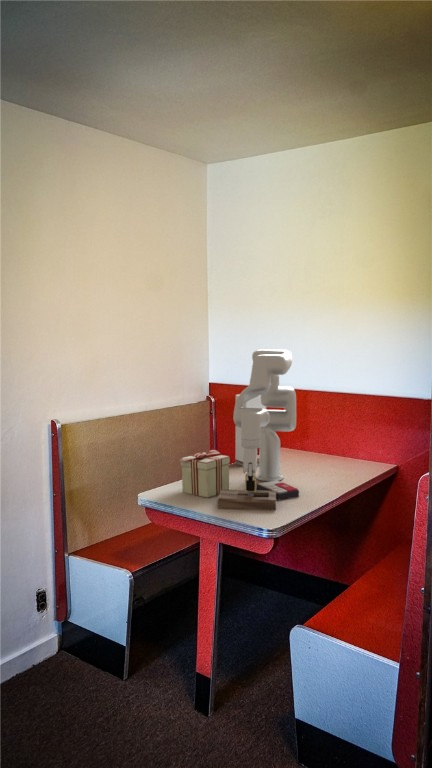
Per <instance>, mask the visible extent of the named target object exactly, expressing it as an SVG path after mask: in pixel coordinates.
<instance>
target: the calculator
mask: <svg viewBox="0 0 432 768" xmlns="http://www.w3.org/2000/svg"><path fill="white" fill-rule="evenodd" d="M256 490H262V491H276V501H281V500H287V499H293V498H296V497H299V496H300V490H298V488H296V487H294V486H292V485H289V484H287V483H285V482H282V481H281V480H279V481H277V480H276V481H263V482H259V483H256Z"/></svg>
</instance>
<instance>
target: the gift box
mask: <svg viewBox="0 0 432 768" xmlns="http://www.w3.org/2000/svg"><path fill="white" fill-rule="evenodd" d="M177 460H178V461H180V467H181V482H182V483H181V485H182V493H184V494H188V495H193V496H196V497H201V498H207V499H209V498H211V497H215V496H218V495H220V492H221V489H222V490H230V467H229V465H230V464H231V463H230V462H231V461H230V456H229V455H223V454H222V452H221V453H220V452H219V451H218V450H216V449H210V450H208V451H207V452H196V453H194V454H191V455H189V456H184V457H181V458H178V459H177Z"/></svg>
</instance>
